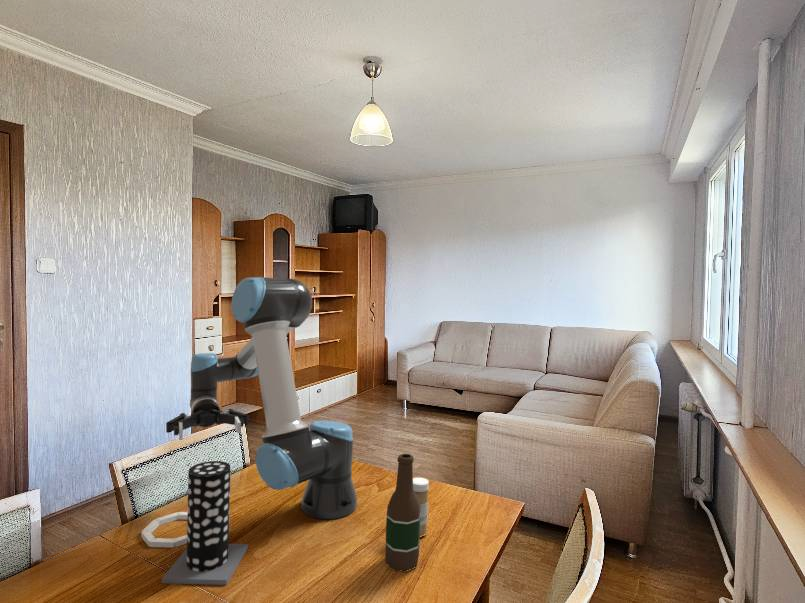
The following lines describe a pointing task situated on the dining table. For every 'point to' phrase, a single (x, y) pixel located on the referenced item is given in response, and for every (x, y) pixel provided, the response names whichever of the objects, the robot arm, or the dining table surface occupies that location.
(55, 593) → the dining table surface
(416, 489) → the sprinkles bottle
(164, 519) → the coaster ring
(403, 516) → the beer bottle
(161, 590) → the dining table surface
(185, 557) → the mat
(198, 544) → the white-spotted black cylinder
